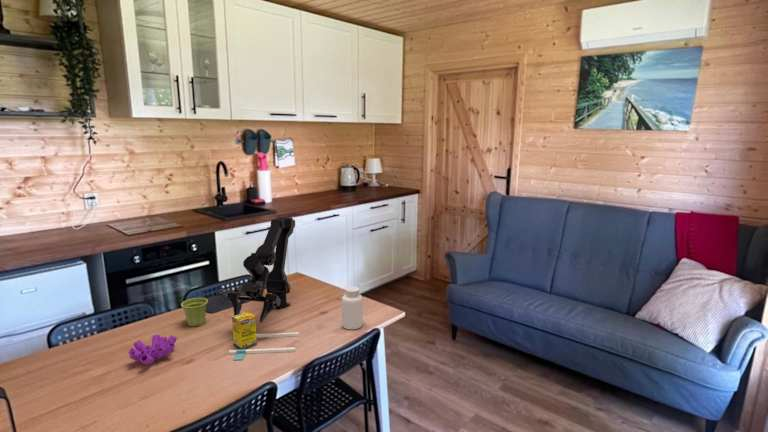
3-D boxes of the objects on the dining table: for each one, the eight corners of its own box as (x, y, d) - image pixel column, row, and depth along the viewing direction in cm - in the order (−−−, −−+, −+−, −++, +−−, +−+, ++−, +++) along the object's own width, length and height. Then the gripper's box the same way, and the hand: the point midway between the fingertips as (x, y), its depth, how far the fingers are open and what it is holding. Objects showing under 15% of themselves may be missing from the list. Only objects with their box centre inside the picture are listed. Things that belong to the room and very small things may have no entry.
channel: (225, 360, 138) (225, 357, 138) (240, 332, 158) (240, 329, 158) (293, 357, 140) (293, 354, 140) (299, 329, 160) (299, 327, 160)
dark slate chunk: (192, 305, 182) (191, 295, 181) (239, 291, 198) (238, 281, 197) (210, 316, 172) (209, 305, 171) (257, 300, 188) (257, 290, 187)
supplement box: (242, 350, 145) (240, 321, 142) (233, 344, 149) (231, 315, 146) (257, 344, 149) (255, 315, 147) (248, 338, 153) (246, 310, 151)
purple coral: (129, 375, 136) (120, 347, 138) (176, 356, 147) (167, 331, 149) (138, 366, 129) (128, 337, 131) (187, 347, 140) (177, 320, 142)
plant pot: (177, 326, 162) (175, 305, 160) (196, 316, 171) (194, 296, 169) (196, 330, 159) (194, 309, 157) (214, 320, 167) (213, 299, 166)
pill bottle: (366, 323, 166) (366, 287, 163) (356, 331, 159) (356, 294, 156) (348, 319, 169) (348, 283, 166) (338, 327, 162) (337, 290, 159)
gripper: (226, 270, 153) (213, 312, 145) (276, 273, 151) (266, 315, 143) (237, 283, 162) (226, 323, 154) (284, 285, 160) (275, 326, 152)
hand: (247, 321), depth 150 cm, fingers open, 9 cm apart
